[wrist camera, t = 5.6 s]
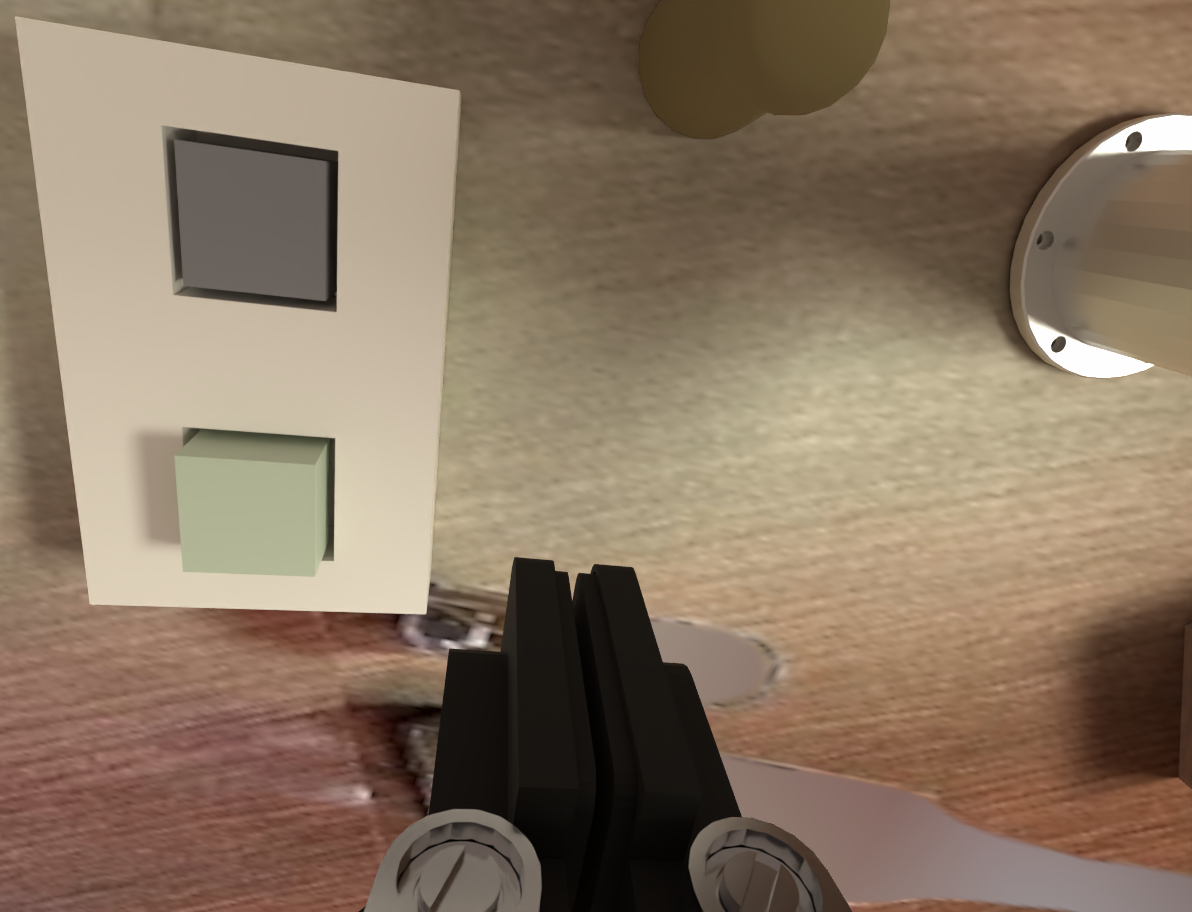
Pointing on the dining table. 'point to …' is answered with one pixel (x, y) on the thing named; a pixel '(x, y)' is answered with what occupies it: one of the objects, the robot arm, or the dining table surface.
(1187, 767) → the tissue box cover
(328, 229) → the charcoal key
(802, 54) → the brown pawn
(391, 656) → the dining table surface
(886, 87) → the dining table surface
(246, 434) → the sage key
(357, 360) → the key panel
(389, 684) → the dining table surface
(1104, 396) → the dining table surface
